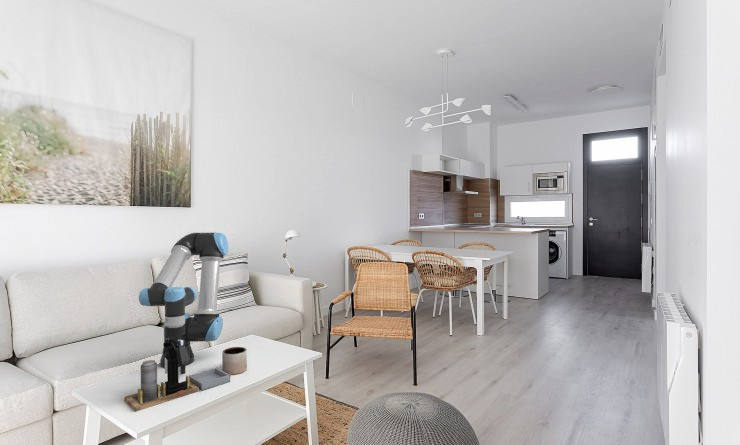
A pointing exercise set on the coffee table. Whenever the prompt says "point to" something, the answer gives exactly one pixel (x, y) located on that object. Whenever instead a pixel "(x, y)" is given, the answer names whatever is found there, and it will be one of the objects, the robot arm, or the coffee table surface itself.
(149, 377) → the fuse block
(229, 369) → the planter
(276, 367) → the coffee table surface
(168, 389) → the chess piece
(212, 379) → the tray
